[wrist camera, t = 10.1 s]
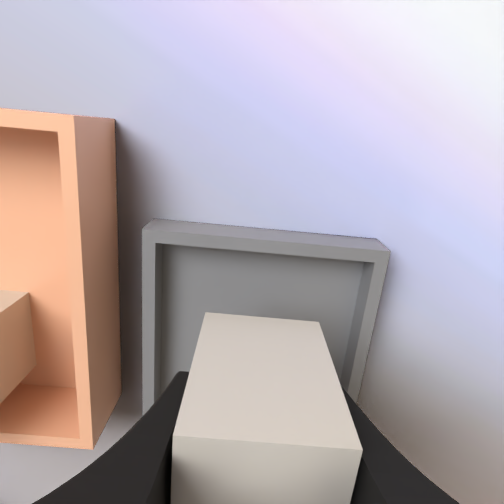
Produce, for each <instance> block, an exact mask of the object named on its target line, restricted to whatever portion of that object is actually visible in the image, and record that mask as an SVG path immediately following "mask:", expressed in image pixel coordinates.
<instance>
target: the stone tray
mask: <svg viewBox="0 0 504 504" xmlns="http://www.w3.org/2000/svg"><path fill="white" fill-rule="evenodd" d="M390 252H391V251H390V250H389V249H388V248H386V247H385V246H384V245H383V244H382V243H381V242H380V241H379V240H377V239H373V238H362V237H351V236H340V235H329V234H318V233H307V232H296V231H285V230H274V229H263V228H252V227H241V226H230V225H219V224H208V223H197V222H186V221H175V220H164V219H153V220H151V221H150V222H149V223H148V224H147V225H146V226H145V227H143V228H142V416H143V415H144V414H145V413H146V412H147V411H148V410H149V409H150V407H151V406H152V405H153V404H154V403H155V402H156V400H157V399H158V398H159V397H160V395H161V394H162V393H163V392H164V390H165V389H166V388H167V386H168V385H169V384H170V382H171V381H172V379H173V378H174V376H175V375H176V373H178V372H179V371H186V372H190V369H191V365H192V361H193V357H194V354H195V350H196V346H197V342H198V338H199V335H200V331H201V327H202V323H203V320H204V316H205V312H209V313H221V314H232V315H244V316H256V317H268V318H279V319H291V320H303V321H315V322H319V324H320V327H321V330H322V332H323V335H324V338H325V341H326V344H327V347H328V350H329V353H330V356H331V359H332V362H333V365H334V367H335V370H336V373H337V376H338V379H339V382H340V384H341V386H342V387H343V388H344V389H345V390H346V392H347V393H348V394H349V395H350V397H351V398H352V399H353V401H354V402H355V403H356V404H357V400H358V395H359V391H360V386H361V382H362V377H363V373H364V368H365V364H366V359H367V355H368V350H369V346H370V341H371V337H372V333H373V328H374V324H375V319H376V315H377V310H378V306H379V301H380V297H381V292H382V288H383V283H384V279H385V274H386V270H387V265H388V261H389V257H390Z"/></svg>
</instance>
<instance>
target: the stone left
mask: <svg viewBox="0 0 504 504" xmlns="http://www.w3.org/2000/svg"><path fill="white" fill-rule="evenodd" d="M36 365H37V364H36V354H35V345H34V336H33V326H32V317H31V308H30V298H29V292H21V291H9V290H0V404H1V403H2V401H3V400H4V399H5V398H6V397H7V396H8V395H9V394H10V393H11V392H12V391H13V390H14V389H15V387H16V386H17V385H18V384H19V383H20V382H21V381H22V380H23V379H24V378H25V377H26V376H27V375H28V373H29V372H30V371H31V370H32V369H33V368H34V367H35V366H36Z"/></svg>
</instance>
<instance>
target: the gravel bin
mask: <svg viewBox="0 0 504 504" xmlns="http://www.w3.org/2000/svg"><path fill="white" fill-rule="evenodd" d="M0 290H9V291H21V292H29V298H30V308H31V317H32V326H33V336H34V345H35V354H36V364H37V365H36V366H35V367H34V368H33V369H32V370H31V371H30V372H29V373H28V375H27V376H26V377H25V378H24V379H23V380H22V381H21V382H20V383H19V384H18V385H17V386H16V387H15V389H14V390H13V391H12V392H11V393H10V394H9V395H8V396H7V397H6V398H5V399H4V400H3V401H2V403H1V404H0V443H13V444H27V445H40V446H53V447H66V448H79V449H94V447H95V445H96V443H97V441H98V439H99V437H100V435H101V433H102V431H103V429H104V427H105V425H106V423H107V421H108V419H109V417H110V415H111V413H112V411H113V409H114V407H115V405H116V403H117V401H118V399H119V397H120V395H121V393H122V387H121V348H120V308H119V268H118V229H117V189H116V149H115V119H110V118H100V117H90V116H79V115H69V114H59V113H48V112H38V111H28V110H18V109H7V108H0Z"/></svg>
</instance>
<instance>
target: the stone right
mask: <svg viewBox="0 0 504 504" xmlns="http://www.w3.org/2000/svg"><path fill="white" fill-rule="evenodd" d="M362 451H363V449H362V446H361V443H360V440H359V437H358V434H357V431H356V429H355V426H354V423H353V420H352V417H351V414H350V411H349V408H348V405H347V402H346V399H345V397H344V394H343V391H342V388H341V385H340V382H339V379H338V376H337V373H336V370H335V367H334V365H333V362H332V359H331V356H330V353H329V350H328V347H327V344H326V341H325V338H324V335H323V332H322V330H321V327H320V324H319V322H315V321H303V320H291V319H279V318H268V317H256V316H244V315H232V314H221V313H209V312H205V316H204V320H203V323H202V327H201V331H200V335H199V338H198V342H197V346H196V350H195V354H194V357H193V361H192V365H191V369H190V372H189V376H188V380H187V384H186V387H185V391H184V395H183V399H182V403H181V406H180V410H179V414H178V418H177V421H176V425H175V429H174V433H173V444H172V475H171V504H350V501H351V497H352V493H353V489H354V485H355V480H356V476H357V472H358V468H359V464H360V460H361V456H362Z"/></svg>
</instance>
